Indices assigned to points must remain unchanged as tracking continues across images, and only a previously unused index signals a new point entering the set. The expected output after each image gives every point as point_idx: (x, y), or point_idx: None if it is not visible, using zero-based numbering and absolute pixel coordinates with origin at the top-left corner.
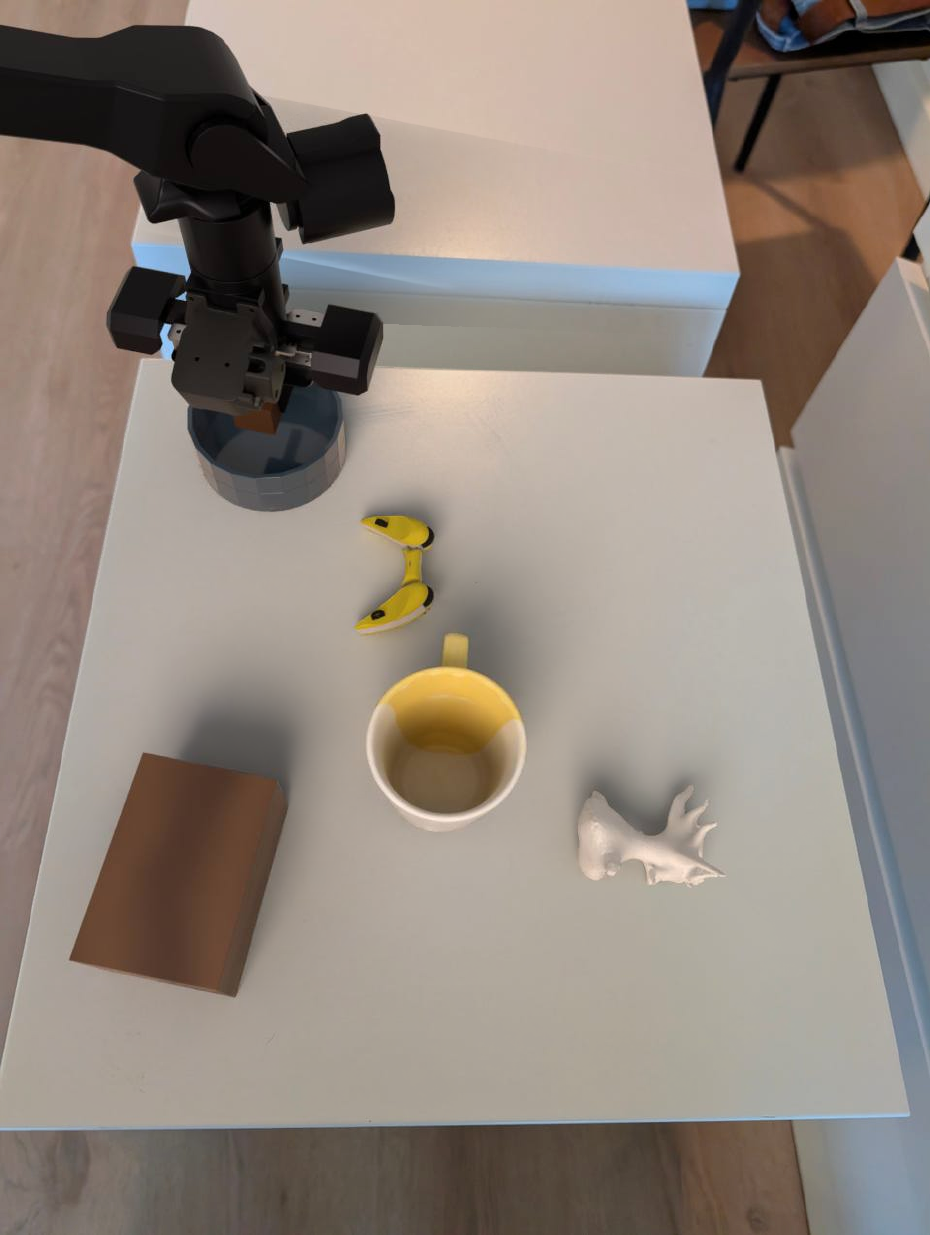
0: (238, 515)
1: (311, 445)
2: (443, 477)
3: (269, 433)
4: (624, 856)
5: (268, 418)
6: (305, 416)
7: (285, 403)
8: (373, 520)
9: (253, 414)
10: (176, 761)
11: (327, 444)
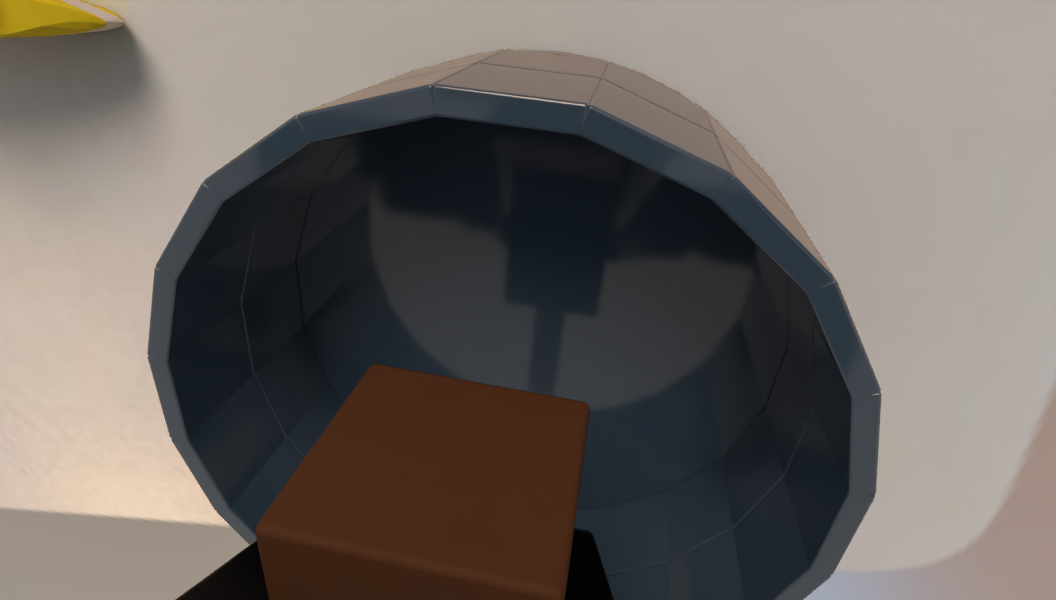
0: (616, 17)
1: (399, 340)
2: (14, 253)
3: (394, 371)
4: None
5: (319, 468)
6: None
7: (246, 556)
8: (9, 9)
9: (414, 498)
10: None
11: (166, 325)
